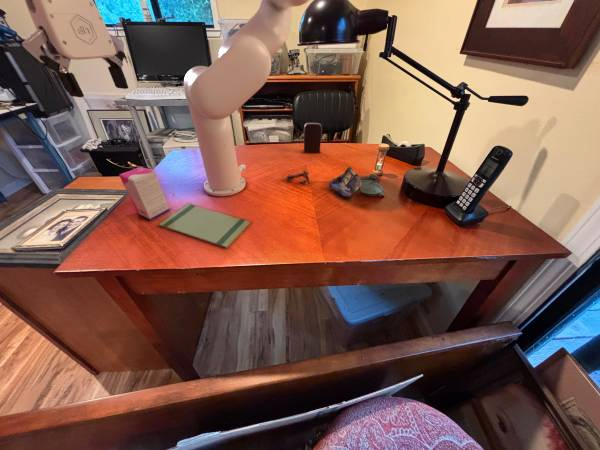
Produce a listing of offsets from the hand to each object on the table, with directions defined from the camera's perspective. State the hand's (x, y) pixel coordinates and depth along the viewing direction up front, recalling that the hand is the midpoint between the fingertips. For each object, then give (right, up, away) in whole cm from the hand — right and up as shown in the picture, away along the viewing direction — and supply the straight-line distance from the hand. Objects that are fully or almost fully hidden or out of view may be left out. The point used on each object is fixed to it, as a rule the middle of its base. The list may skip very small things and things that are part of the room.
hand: (101, 92), depth 50 cm
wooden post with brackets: (+41, -14, +28) cm, 52 cm away
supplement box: (+2, -25, +14) cm, 28 cm away
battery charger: (+46, +2, +49) cm, 67 cm away
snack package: (+57, -17, +25) cm, 64 cm away
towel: (+18, -28, +10) cm, 35 cm away
